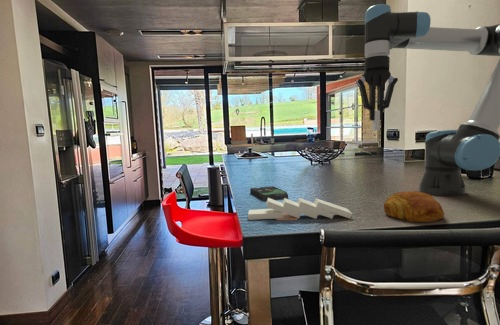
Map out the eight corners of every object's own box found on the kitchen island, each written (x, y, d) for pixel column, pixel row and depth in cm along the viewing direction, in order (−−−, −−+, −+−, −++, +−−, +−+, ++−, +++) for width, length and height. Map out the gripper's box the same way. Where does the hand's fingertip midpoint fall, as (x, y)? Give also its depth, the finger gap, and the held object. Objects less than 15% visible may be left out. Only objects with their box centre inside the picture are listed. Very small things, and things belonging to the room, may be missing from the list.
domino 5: (347, 208, 93) (315, 198, 93) (352, 213, 88) (318, 202, 88) (345, 213, 93) (313, 203, 93) (350, 218, 88) (316, 207, 88)
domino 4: (330, 209, 93) (299, 197, 93) (334, 213, 88) (300, 201, 88) (328, 213, 93) (297, 202, 93) (332, 218, 88) (298, 206, 88)
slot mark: (295, 213, 95) (295, 212, 95) (297, 220, 88) (297, 219, 88) (275, 213, 95) (275, 212, 95) (276, 220, 88) (276, 219, 88)
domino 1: (282, 213, 94) (249, 215, 95) (282, 208, 94) (249, 209, 94) (283, 218, 89) (248, 219, 90) (282, 212, 89) (248, 214, 89)
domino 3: (315, 209, 93) (284, 197, 93) (318, 213, 88) (285, 201, 88) (313, 214, 93) (282, 202, 94) (316, 219, 88) (283, 206, 89)
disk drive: (249, 194, 127) (263, 202, 113) (249, 188, 126) (263, 194, 113) (273, 192, 130) (289, 199, 116) (272, 185, 130) (288, 191, 116)
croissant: (377, 217, 96) (374, 192, 95) (426, 208, 96) (423, 183, 96) (402, 231, 82) (398, 202, 81) (459, 221, 82) (456, 191, 81)
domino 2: (299, 208, 94) (268, 197, 94) (301, 213, 89) (268, 201, 89) (297, 213, 94) (266, 202, 94) (299, 218, 89) (266, 206, 89)
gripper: (392, 58, 104) (391, 129, 106) (353, 60, 105) (352, 130, 107) (402, 53, 96) (400, 129, 99) (359, 55, 97) (359, 131, 100)
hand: (375, 130), depth 103 cm, fingers closed
